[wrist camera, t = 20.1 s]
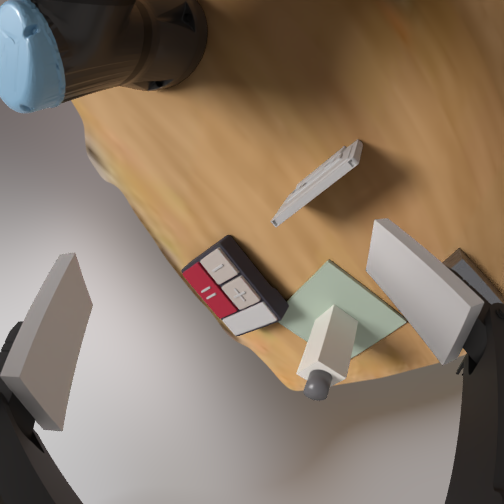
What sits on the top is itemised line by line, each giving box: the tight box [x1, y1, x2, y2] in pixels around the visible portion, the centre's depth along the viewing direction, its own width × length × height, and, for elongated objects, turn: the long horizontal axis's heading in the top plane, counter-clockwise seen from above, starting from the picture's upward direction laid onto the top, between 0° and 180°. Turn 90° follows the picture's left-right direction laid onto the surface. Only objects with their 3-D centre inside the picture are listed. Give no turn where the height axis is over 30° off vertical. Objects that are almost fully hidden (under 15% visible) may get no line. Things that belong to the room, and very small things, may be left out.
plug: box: [296, 304, 358, 400], centre depth 43 cm, size 5×5×14 cm
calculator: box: [182, 235, 289, 336], centre depth 51 cm, size 11×4×15 cm
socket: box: [398, 248, 504, 311], centre depth 38 cm, size 12×12×2 cm
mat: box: [279, 260, 407, 358], centre depth 49 cm, size 16×16×1 cm
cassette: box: [271, 139, 363, 227], centre depth 34 cm, size 12×2×8 cm, turn 138°
